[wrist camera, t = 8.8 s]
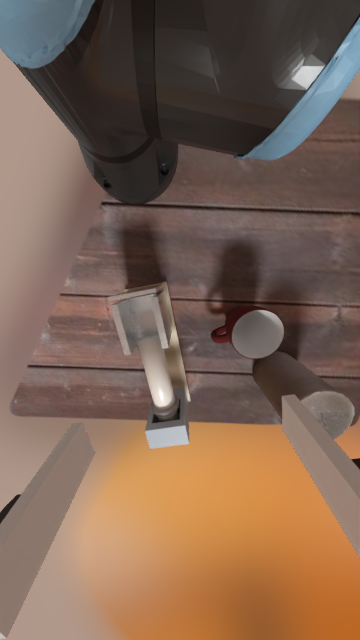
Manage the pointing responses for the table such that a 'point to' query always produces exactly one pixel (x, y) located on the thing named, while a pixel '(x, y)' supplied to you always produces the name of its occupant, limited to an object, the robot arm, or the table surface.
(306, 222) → the table surface
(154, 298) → the grey u-shaped bracket
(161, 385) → the slip tube
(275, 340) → the mug
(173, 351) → the base board
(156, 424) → the socket block
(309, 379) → the pillar candle
